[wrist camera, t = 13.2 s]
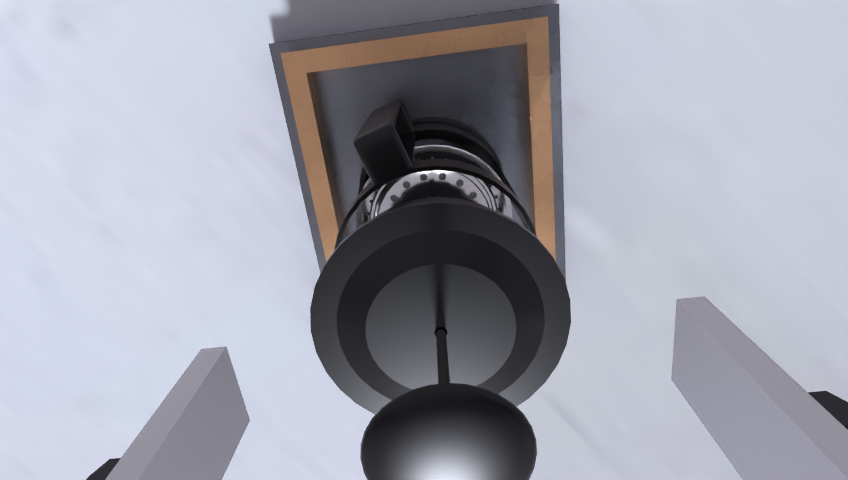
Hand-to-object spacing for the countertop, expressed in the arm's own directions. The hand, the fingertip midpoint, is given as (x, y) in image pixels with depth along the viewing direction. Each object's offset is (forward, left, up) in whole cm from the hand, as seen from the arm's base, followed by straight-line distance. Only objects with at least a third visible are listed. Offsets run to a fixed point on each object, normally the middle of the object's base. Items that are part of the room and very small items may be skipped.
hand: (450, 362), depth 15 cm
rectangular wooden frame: (0, 0, -21) cm, 21 cm away
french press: (0, 0, -20) cm, 20 cm away
